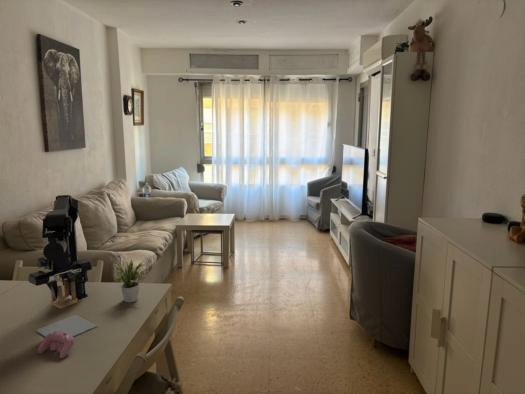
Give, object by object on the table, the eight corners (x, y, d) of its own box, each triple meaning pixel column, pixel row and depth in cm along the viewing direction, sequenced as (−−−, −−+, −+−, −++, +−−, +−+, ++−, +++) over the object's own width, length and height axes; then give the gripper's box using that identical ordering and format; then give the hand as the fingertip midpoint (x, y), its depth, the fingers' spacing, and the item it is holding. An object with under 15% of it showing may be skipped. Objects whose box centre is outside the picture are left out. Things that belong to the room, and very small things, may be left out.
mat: (75, 315, 145) (75, 314, 145) (97, 326, 137) (97, 325, 136) (35, 331, 134) (35, 330, 134) (56, 344, 125) (56, 343, 125)
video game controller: (72, 358, 121) (78, 334, 122) (61, 359, 116) (67, 334, 118) (46, 352, 124) (53, 329, 126) (35, 353, 119) (41, 329, 121)
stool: (68, 297, 138) (66, 278, 136) (77, 302, 134) (76, 281, 133) (51, 303, 133) (48, 283, 132) (60, 308, 129) (58, 287, 128)
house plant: (156, 302, 156) (154, 262, 153) (120, 311, 148) (117, 269, 145) (144, 290, 167) (142, 253, 165) (110, 298, 160) (108, 259, 157)
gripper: (74, 240, 143) (77, 282, 145) (18, 253, 128) (23, 299, 130) (91, 246, 136) (94, 289, 139) (34, 260, 121) (39, 308, 124)
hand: (63, 295), depth 133 cm, fingers closed on stool, 5 cm apart
